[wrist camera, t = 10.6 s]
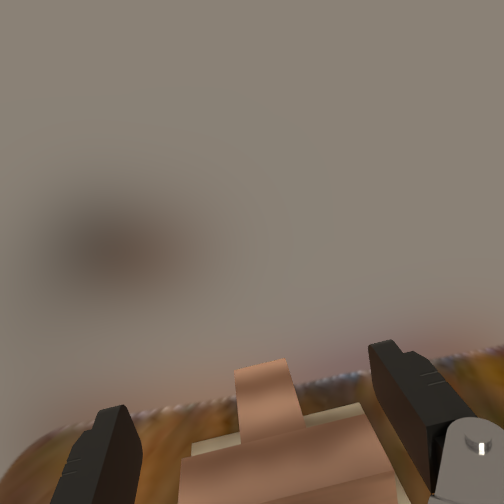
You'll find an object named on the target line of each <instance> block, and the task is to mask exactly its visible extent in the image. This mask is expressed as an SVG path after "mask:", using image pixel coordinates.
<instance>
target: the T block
mask: <svg viewBox="0 0 504 504" xmlns="http://www.w3.org/2000/svg"><path fill="white" fill-rule="evenodd" d="M234 375H235V386H236V397H237V407H238V418H239V428H240V439H241V444H239V445H235V446H231V447H227V448H223V449H219V450H215V451H211V452H207V453H203V454H199V455H195V456H190V457H186V458H182V460H181V472H180V485H179V497H178V504H398V499H397V491H396V482H395V474H394V469H393V467H392V465H391V463H390V461H389V459H388V457H387V455H386V453H385V451H384V449H383V447H382V445H381V443H380V442H379V440H378V438H377V436H376V434H375V432H374V430H373V428H372V426H371V424H370V422H369V420H368V418H367V416H366V414H361V415H357V416H353V417H349V418H345V419H341V420H337V421H333V422H329V423H325V424H320V425H316V426H312V427H308V428H306V425H305V421H304V418H303V415H302V411H301V408H300V405H299V402H298V398H297V395H296V392H295V389H294V385H293V382H292V379H291V375H290V373H289V369H288V366H287V362H286V359H285V358H282V359H278V360H274V361H270V362H266V363H262V364H258V365H254V366H250V367H245V368H242V369H237V370H234Z"/></svg>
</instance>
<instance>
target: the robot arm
mask: <svg viewBox="0 0 504 504" xmlns="http://www.w3.org/2000/svg"><path fill="white" fill-rule="evenodd" d="M368 352H369V360H370V367H371V375H372V382H373V387H374V391H375V394H376V396H377V399H378V401H379V403H380V405H381V407H382V408H383V410H384V412H385V414H386V415H387V417H388V419H389V421H390V422H391V424H392V426H393V428H394V429H395V431H396V433H397V435H398V436H399V438H400V440H401V442H402V443H403V445H404V447H405V449H406V450H407V452H408V454H409V456H410V457H411V459H412V461H413V463H414V464H415V466H416V468H417V470H418V471H419V473H420V475H421V477H422V478H423V480H424V482H425V484H426V485H427V487H428V489H429V491H430V492H431V496H430V498H429V501H428V504H504V430H503V429H502V428H500V427H499V426H498V425H496V424H494V423H492V422H490V421H488V420H485V419H481V418H478V417H477V416H476V415H475V414H474V413H473V411H472V410H471V409H470V408H469V407H468V406H467V404H466V403H465V402H464V401H463V400H462V399H461V397H460V396H459V395H458V394H457V393H456V392H455V390H454V389H453V388H452V387H451V386H450V385H449V383H448V382H446V381H445V379H444V378H443V377H442V375H441V374H440V373H438V372H437V370H436V368H435V367H434V366H433V365H432V364H431V363H430V361H429V360H428V359H426V358H425V357H423V356H421V355H419V354H417V353H416V352H414V351H411V352H407V353H403V352H402V351H401V350H400V349H399V347H398V346H397V345H396V344H395V342H394V341H393V340H386V341H382V342H378V343H374V344H371V345H369V346H368ZM142 458H143V452H142V445H141V441H140V438H139V436H138V433H137V431H136V428H135V426H134V424H133V421H132V419H131V416H130V414H129V412H128V410H127V407H126V406H124V405H119V406H115V407H111V408H107V409H103V410H100V411H99V412H98V414H97V416H96V419H95V422H94V425H93V427H92V429H91V430H87V431H84V433H83V434H82V435H81V436H80V438H79V439H78V440H77V441H76V443H75V444H74V445H73V447H72V449H71V452H70V454H69V457H68V459H67V464H65V467H64V469H63V472H62V477H60V479H59V482H58V484H57V487H56V489H55V492H54V494H53V497H52V499H51V502H50V504H134V502H135V497H136V492H137V486H138V481H139V476H140V470H141V465H142ZM432 493H435V494H434V495H432Z"/></svg>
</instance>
